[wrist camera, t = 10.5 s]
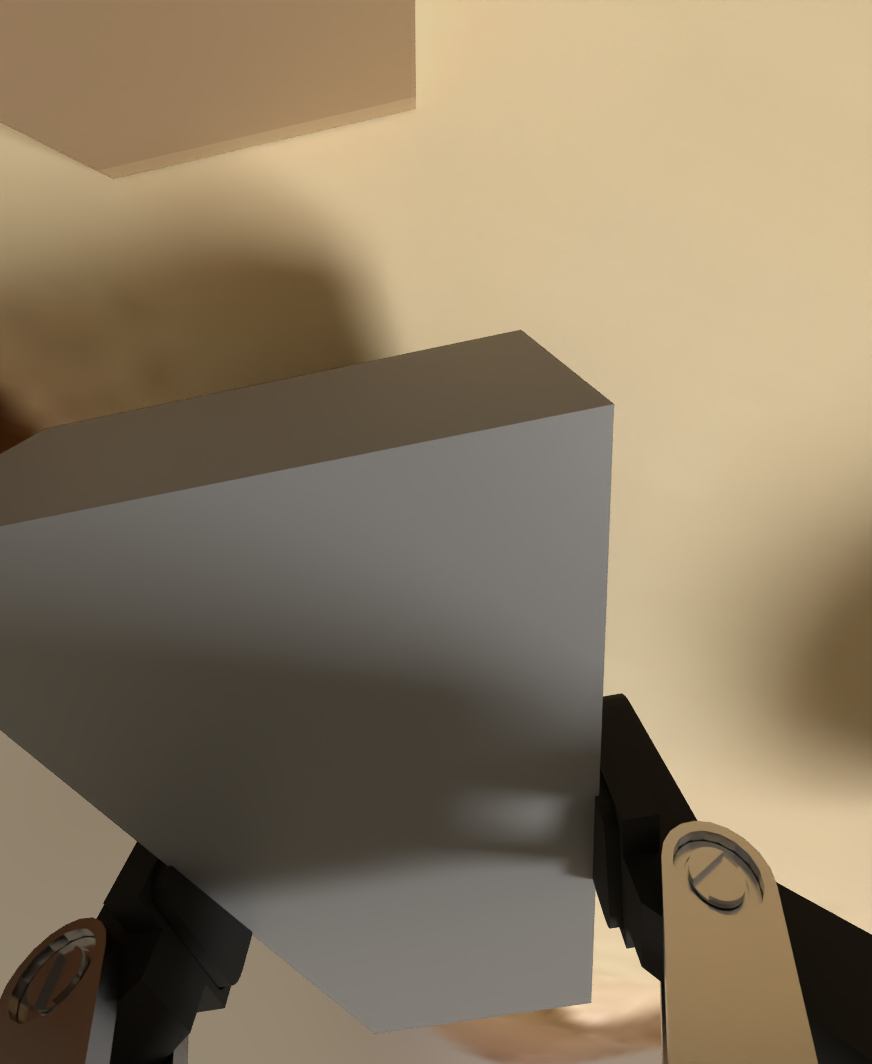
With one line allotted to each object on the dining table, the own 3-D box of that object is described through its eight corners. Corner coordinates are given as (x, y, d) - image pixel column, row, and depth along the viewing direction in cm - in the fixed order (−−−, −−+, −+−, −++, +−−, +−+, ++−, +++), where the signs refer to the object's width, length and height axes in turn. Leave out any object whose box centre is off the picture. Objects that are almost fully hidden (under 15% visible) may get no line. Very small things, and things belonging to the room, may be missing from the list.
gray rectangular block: (45, 428, 6) (-202, 566, 4) (520, 329, 6) (614, 403, 3) (378, 907, 16) (374, 1034, 13) (560, 879, 16) (591, 1002, 13)
